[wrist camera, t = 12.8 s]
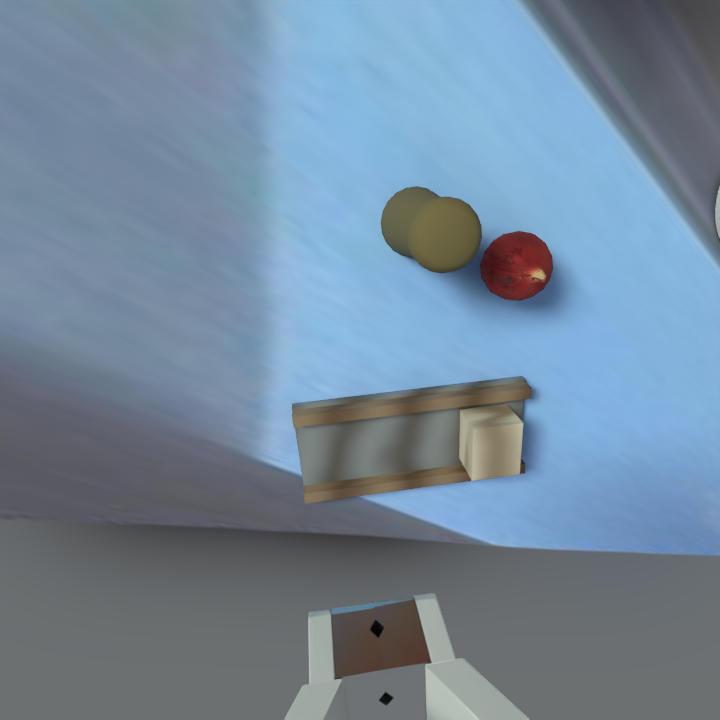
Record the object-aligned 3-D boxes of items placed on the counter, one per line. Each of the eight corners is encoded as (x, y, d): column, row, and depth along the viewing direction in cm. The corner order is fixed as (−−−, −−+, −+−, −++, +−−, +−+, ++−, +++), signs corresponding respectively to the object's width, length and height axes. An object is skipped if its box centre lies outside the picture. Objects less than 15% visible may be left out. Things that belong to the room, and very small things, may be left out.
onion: (472, 295, 44) (507, 320, 37) (465, 235, 42) (500, 249, 35) (530, 281, 44) (576, 302, 37) (526, 220, 42) (573, 230, 35)
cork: (425, 171, 40) (467, 171, 29) (459, 230, 42) (509, 249, 32) (367, 214, 40) (390, 227, 30) (404, 269, 43) (436, 300, 32)
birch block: (506, 403, 48) (523, 423, 44) (503, 452, 50) (519, 474, 47) (459, 409, 48) (473, 429, 44) (459, 458, 50) (471, 480, 46)
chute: (521, 376, 48) (531, 385, 46) (515, 463, 52) (524, 475, 50) (292, 403, 46) (291, 414, 44) (305, 492, 51) (305, 505, 49)
